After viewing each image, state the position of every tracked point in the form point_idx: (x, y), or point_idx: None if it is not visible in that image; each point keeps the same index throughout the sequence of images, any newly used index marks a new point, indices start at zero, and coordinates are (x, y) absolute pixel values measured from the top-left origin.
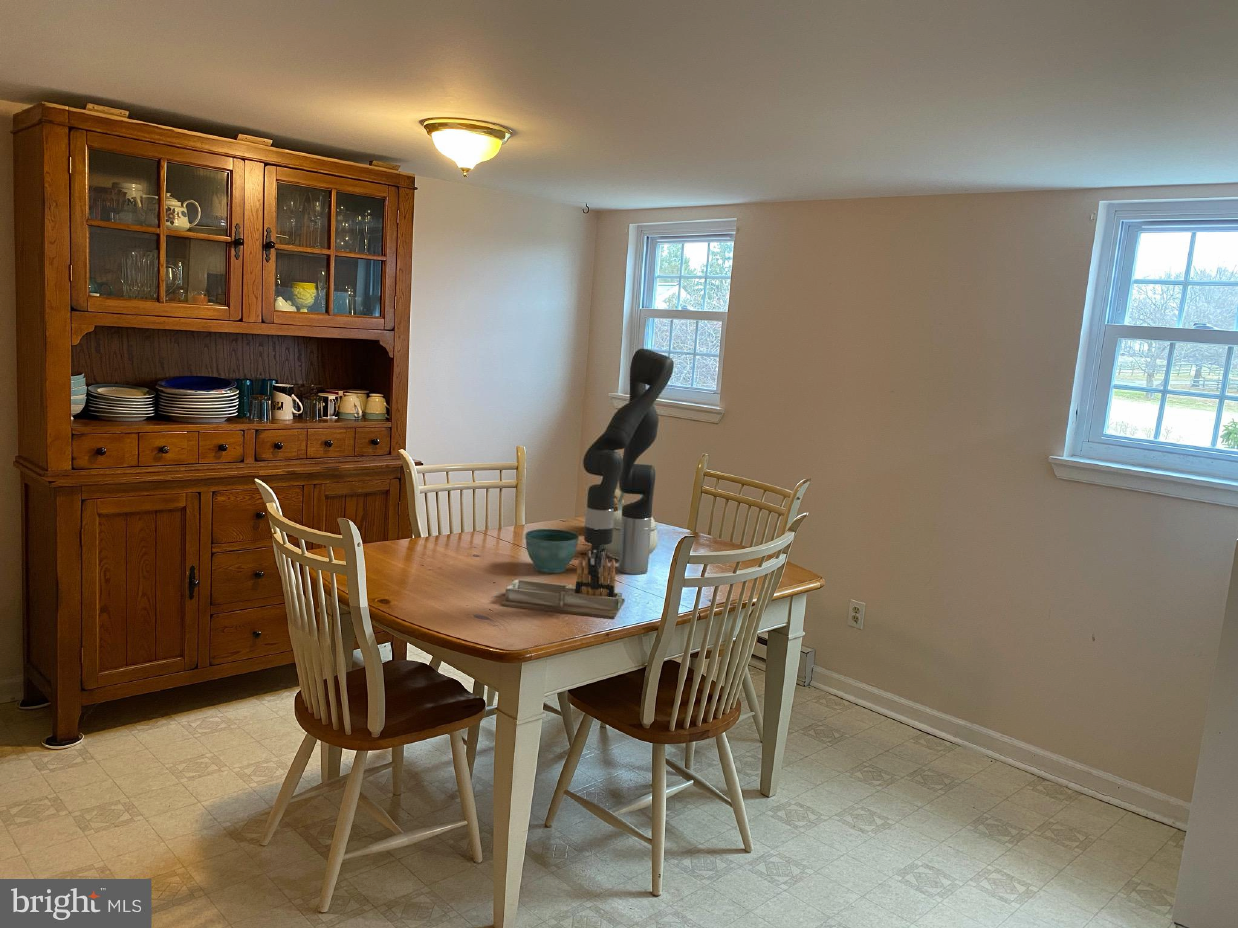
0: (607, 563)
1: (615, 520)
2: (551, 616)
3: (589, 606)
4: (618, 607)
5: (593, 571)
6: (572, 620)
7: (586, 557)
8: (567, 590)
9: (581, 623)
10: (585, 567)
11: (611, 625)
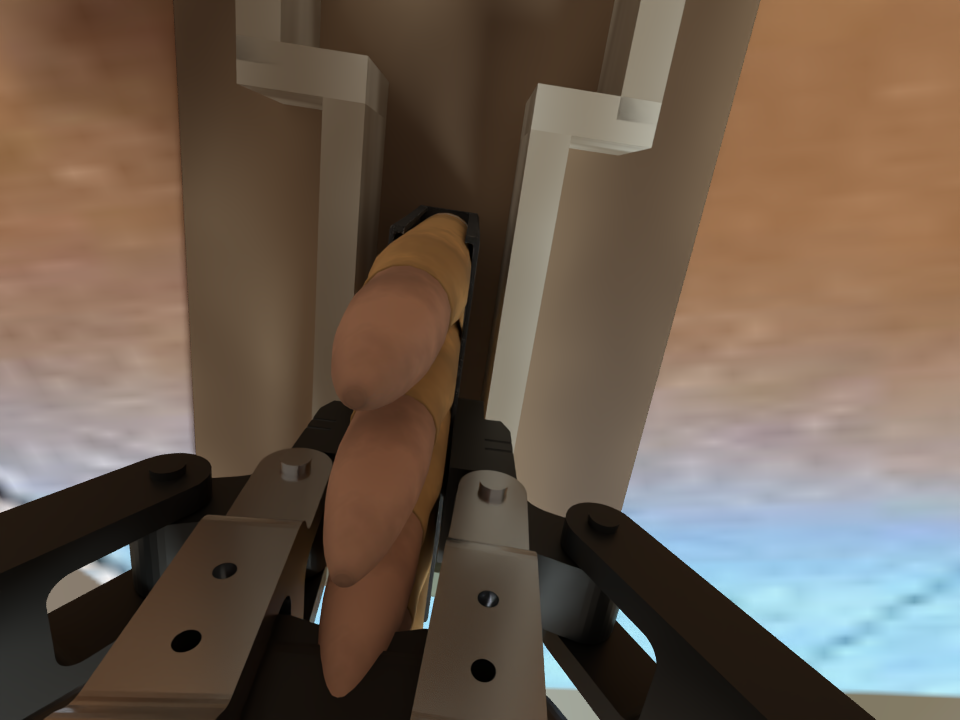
0: None
1: None
2: (57, 30)
3: None
4: None
5: (132, 553)
6: (43, 226)
7: (331, 543)
8: (529, 118)
9: (10, 299)
10: (353, 412)
11: None
